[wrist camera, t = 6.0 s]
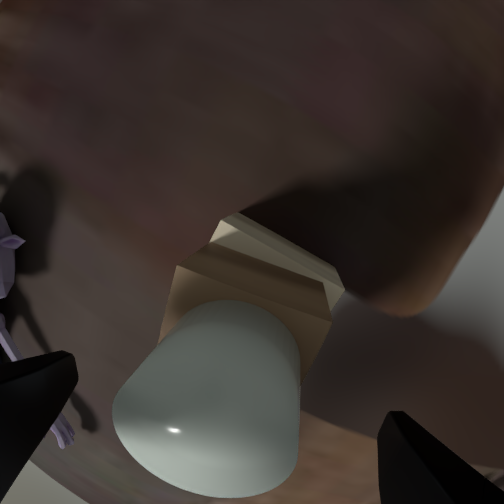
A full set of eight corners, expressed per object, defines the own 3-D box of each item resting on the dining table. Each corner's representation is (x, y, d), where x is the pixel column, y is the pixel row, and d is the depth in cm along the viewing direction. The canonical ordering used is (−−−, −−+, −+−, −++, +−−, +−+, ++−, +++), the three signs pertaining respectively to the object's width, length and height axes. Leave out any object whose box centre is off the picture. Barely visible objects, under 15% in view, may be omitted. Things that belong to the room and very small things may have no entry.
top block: (211, 241, 13) (176, 265, 9) (322, 282, 13) (333, 322, 9) (182, 338, 14) (149, 384, 11) (280, 374, 14) (274, 431, 10)
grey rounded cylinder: (196, 274, 9) (134, 332, 5) (326, 339, 9) (338, 428, 5) (154, 375, 10) (102, 446, 7) (261, 427, 10) (245, 512, 6)
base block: (238, 211, 17) (221, 219, 13) (334, 266, 17) (345, 290, 13) (192, 301, 18) (166, 329, 14) (279, 349, 18) (275, 388, 14)
